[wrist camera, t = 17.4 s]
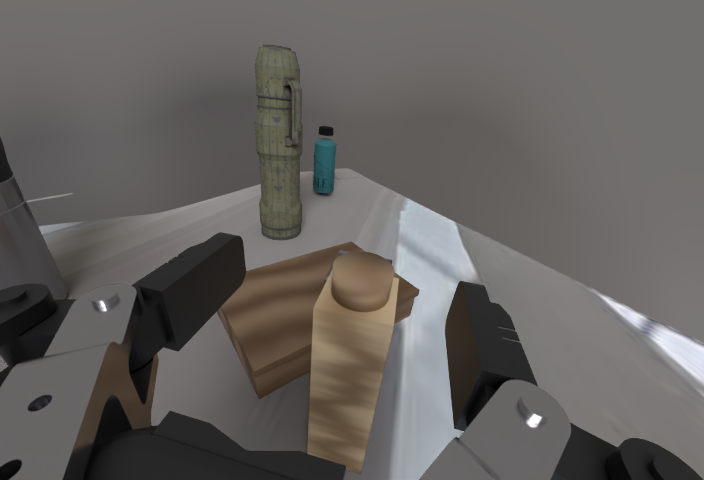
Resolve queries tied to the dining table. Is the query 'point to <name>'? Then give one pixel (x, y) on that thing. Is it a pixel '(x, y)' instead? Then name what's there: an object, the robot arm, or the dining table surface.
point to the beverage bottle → (324, 162)
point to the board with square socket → (286, 315)
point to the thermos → (279, 140)
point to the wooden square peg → (349, 355)
